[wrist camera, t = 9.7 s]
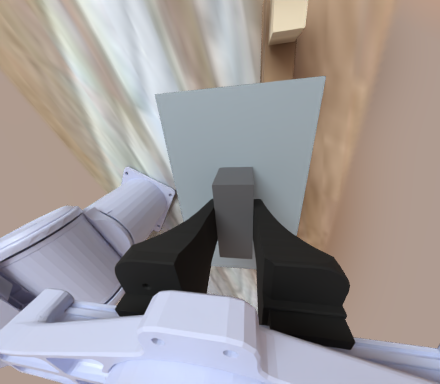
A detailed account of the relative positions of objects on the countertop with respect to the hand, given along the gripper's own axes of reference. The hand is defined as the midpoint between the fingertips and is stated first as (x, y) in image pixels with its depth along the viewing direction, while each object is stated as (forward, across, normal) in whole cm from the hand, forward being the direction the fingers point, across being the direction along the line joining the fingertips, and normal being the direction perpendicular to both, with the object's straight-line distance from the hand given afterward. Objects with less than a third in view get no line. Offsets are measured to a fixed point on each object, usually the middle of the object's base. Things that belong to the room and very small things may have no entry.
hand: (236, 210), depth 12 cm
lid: (+2, 0, 0) cm, 2 cm away
